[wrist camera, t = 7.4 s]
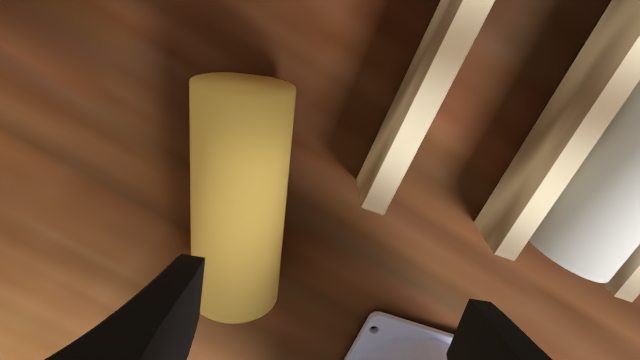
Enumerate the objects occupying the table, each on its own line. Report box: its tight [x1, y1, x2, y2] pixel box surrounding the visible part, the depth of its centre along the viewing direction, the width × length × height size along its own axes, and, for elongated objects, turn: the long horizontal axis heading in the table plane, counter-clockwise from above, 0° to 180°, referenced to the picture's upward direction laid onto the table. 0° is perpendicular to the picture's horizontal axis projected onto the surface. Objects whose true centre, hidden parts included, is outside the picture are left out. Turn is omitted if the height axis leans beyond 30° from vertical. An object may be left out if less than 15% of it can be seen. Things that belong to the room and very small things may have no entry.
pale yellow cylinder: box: [189, 72, 296, 324], centre depth 19 cm, size 10×4×4 cm, turn 173°
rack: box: [356, 0, 640, 302], centre depth 17 cm, size 14×14×3 cm
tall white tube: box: [529, 80, 640, 283], centre depth 18 cm, size 10×4×4 cm, turn 159°
